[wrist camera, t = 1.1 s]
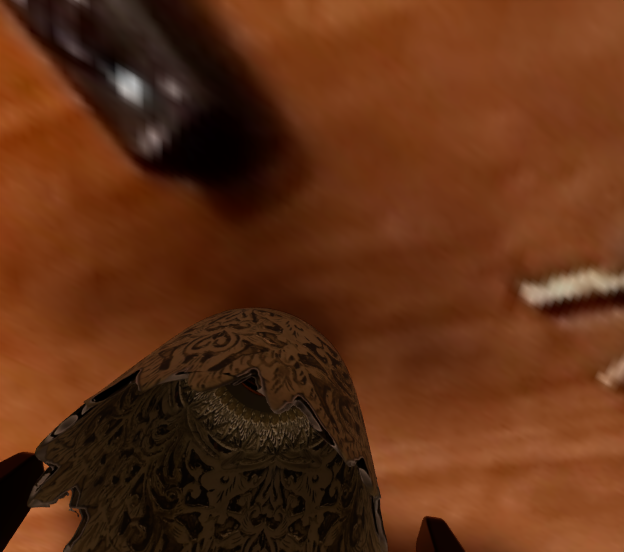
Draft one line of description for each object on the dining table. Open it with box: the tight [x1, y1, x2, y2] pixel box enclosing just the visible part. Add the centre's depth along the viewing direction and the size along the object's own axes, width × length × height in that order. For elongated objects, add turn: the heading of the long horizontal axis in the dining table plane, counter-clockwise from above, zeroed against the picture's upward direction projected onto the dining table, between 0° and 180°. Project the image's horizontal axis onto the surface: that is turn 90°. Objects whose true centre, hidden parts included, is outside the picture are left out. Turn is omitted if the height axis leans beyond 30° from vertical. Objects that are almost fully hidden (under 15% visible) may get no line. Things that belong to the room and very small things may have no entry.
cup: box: [27, 308, 388, 552], centre depth 11 cm, size 8×7×8 cm
